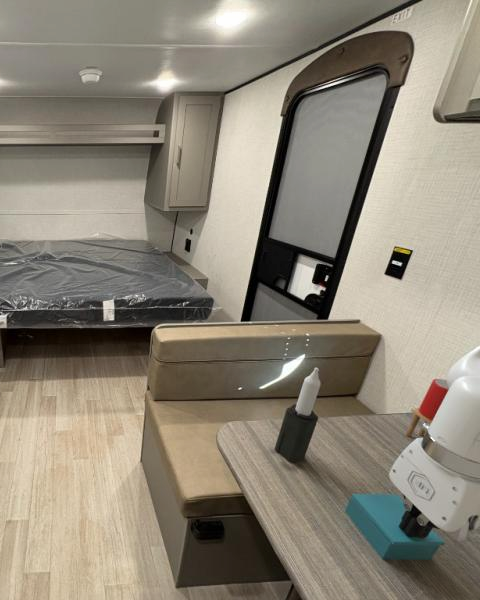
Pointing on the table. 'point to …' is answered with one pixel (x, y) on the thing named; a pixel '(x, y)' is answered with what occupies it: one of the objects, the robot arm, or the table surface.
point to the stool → (416, 420)
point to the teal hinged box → (381, 541)
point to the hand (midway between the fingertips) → (411, 531)
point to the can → (433, 398)
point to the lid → (391, 518)
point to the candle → (299, 422)
